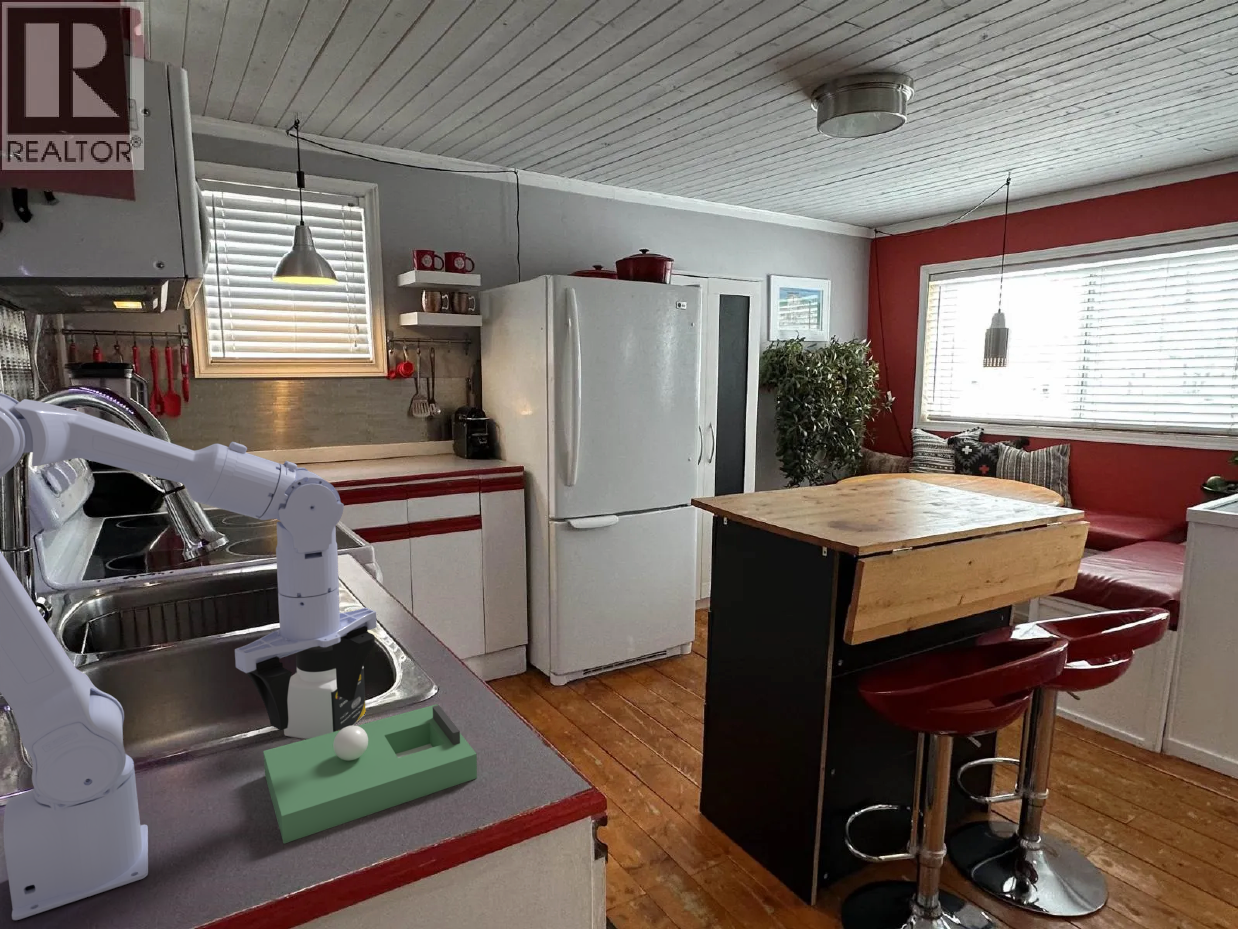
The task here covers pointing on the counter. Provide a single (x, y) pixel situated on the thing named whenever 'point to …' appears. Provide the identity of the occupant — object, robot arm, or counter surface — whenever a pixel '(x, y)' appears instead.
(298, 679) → the medicine bottle
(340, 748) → the ball
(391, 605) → the counter surface
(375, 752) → the green pocketed block
